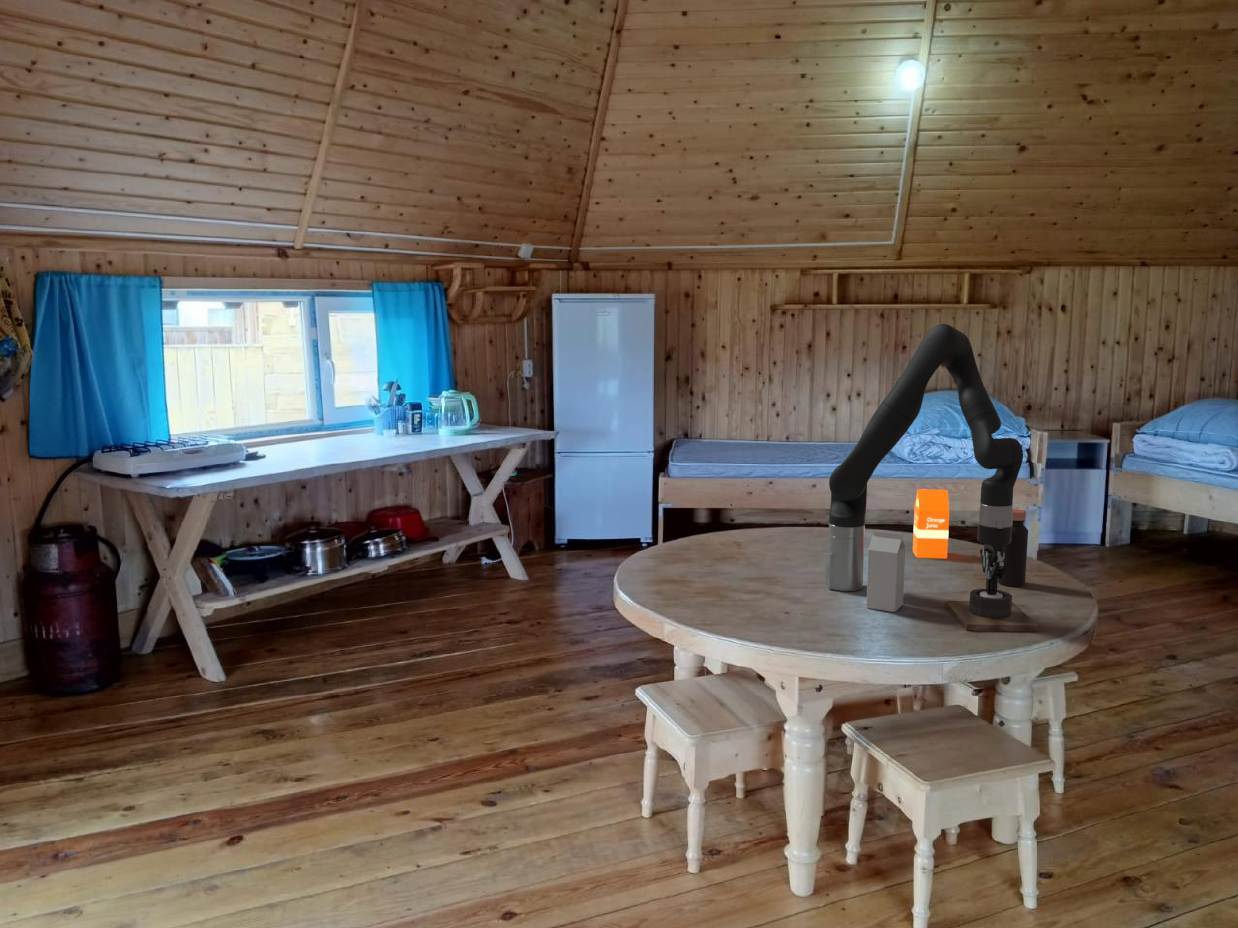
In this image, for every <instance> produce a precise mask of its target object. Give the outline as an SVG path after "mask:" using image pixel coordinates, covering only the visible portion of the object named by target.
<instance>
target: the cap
mask: <svg viewBox="0 0 1238 928" xmlns="http://www.w3.org/2000/svg"><path fill="white" fill-rule="evenodd" d="M980 596H982V597H986V598H1002V597H1003V595H1002V594H1001V593H998V592H997V594H996V595H989V594H987V593H986V591H984V592H981V593H980Z"/></svg>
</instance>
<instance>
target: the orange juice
mask: <svg viewBox="0 0 1238 928" xmlns="http://www.w3.org/2000/svg"><path fill="white" fill-rule="evenodd" d="M948 493H949V491H948V489H922V488H921V489H920V488H918V489H917V491H916V498H915V503H914V513H913V514H914V515H913V531H912V532H913V537H912V552H913V554H914V555H915V557H916V558H918V559H919V558H921V559H922V558H924V559H925V558H926V559H948V544H949V527H950V526H949V524H950V521H949V520H950V506H949V505H950V504H949V494H948Z"/></svg>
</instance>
